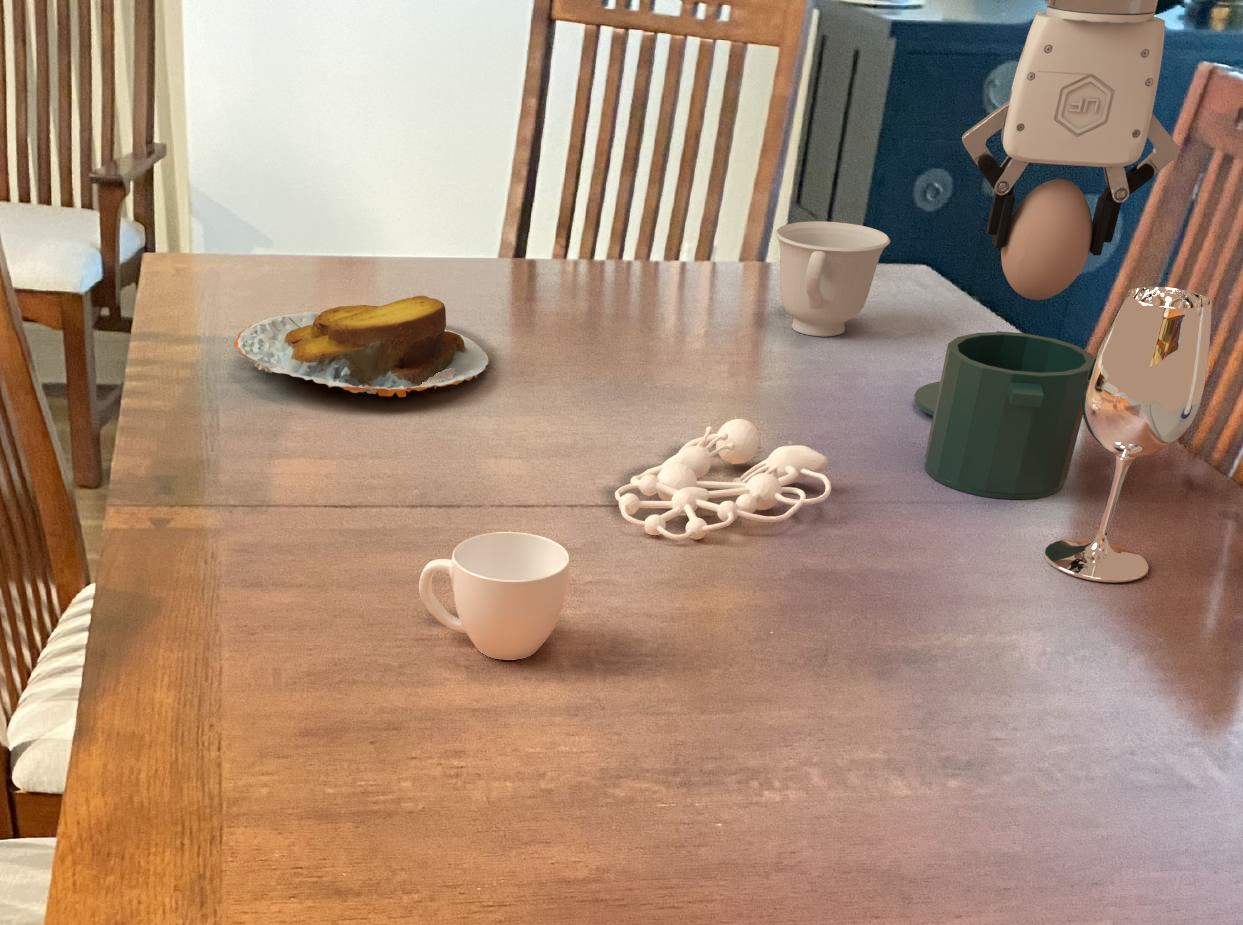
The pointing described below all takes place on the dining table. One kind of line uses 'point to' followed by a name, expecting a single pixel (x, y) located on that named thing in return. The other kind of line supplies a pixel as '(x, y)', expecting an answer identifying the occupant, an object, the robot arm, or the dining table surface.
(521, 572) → the cup
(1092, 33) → the robot arm
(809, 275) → the teacup
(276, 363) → the food on plate
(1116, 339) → the wineglass
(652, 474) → the tangled rod sculpture
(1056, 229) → the egg
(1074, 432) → the pot
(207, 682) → the dining table surface
